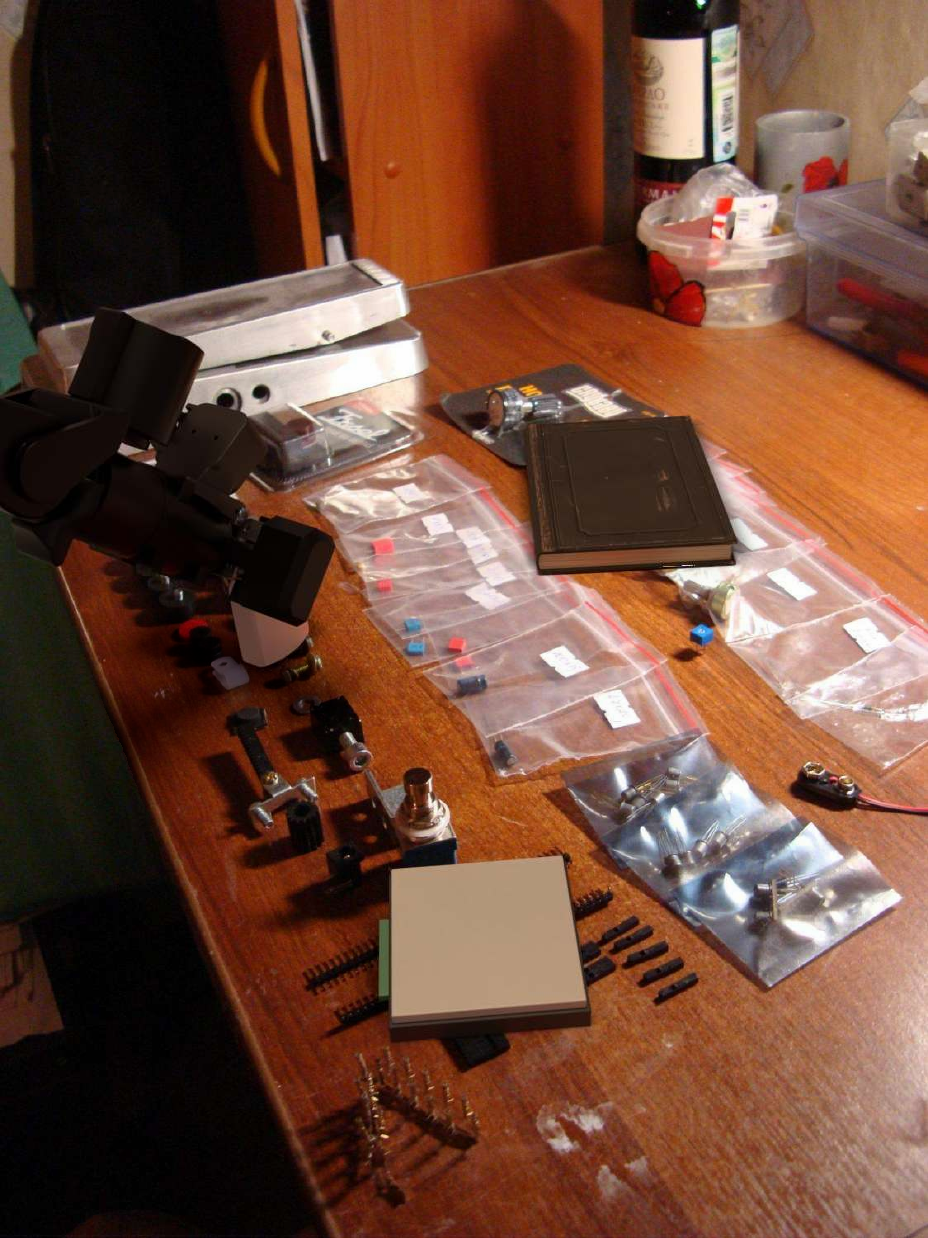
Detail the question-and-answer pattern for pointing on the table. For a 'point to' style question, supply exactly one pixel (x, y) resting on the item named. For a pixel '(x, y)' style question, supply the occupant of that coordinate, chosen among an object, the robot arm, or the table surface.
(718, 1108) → the table surface
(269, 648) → the eye dropper bottle
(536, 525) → the hardcover book
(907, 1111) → the table surface
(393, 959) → the kitchen scale
